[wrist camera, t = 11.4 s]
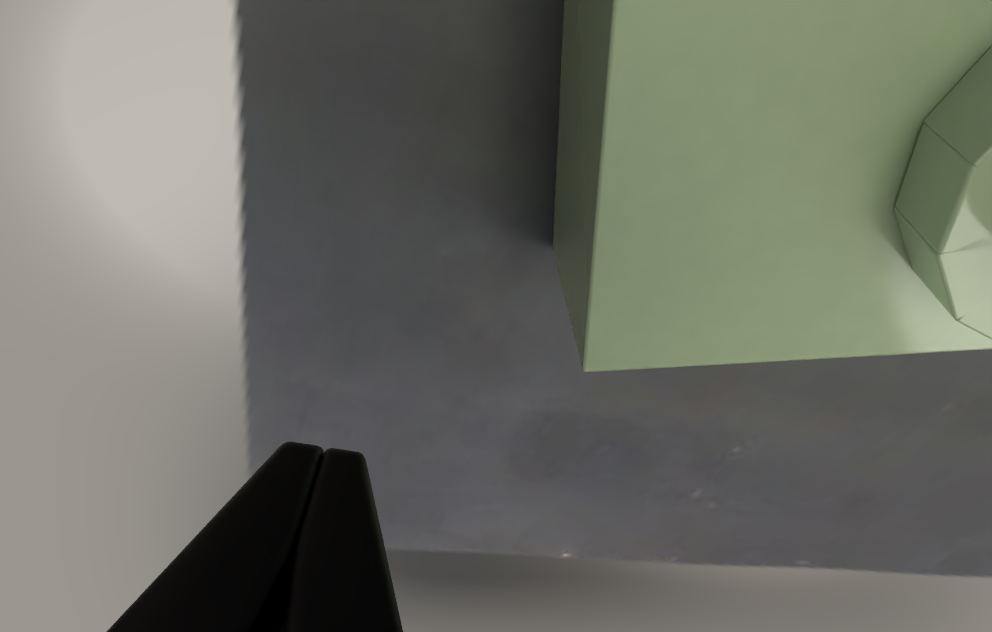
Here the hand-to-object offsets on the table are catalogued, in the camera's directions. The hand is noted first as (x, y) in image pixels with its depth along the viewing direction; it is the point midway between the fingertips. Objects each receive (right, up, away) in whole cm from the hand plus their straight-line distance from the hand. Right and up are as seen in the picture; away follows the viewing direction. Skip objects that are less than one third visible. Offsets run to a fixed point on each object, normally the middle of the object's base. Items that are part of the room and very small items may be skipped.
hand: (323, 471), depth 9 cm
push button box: (+9, +8, +11) cm, 17 cm away
